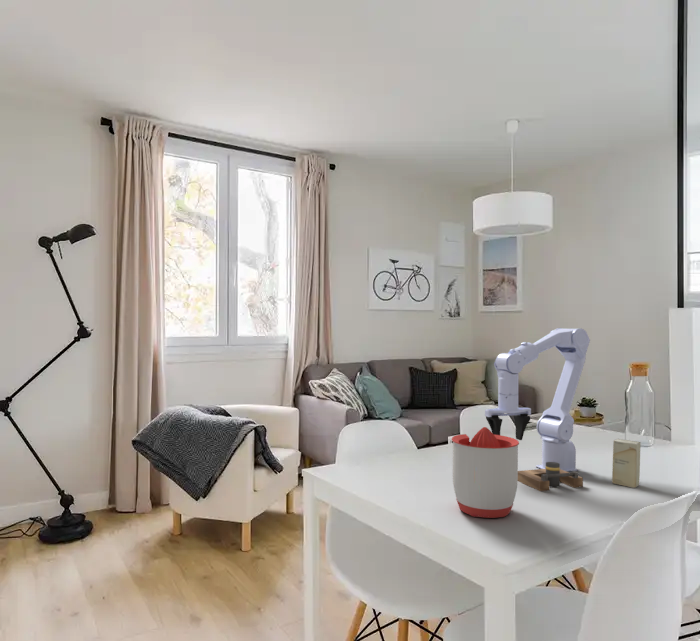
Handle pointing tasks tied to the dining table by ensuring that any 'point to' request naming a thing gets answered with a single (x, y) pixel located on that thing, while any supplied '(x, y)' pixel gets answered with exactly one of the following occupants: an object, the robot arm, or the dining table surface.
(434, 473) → the dining table surface
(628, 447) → the skincare box
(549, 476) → the wooden bracket with rod
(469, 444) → the citrus juicer
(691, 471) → the dining table surface
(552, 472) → the grey cylinder with band
